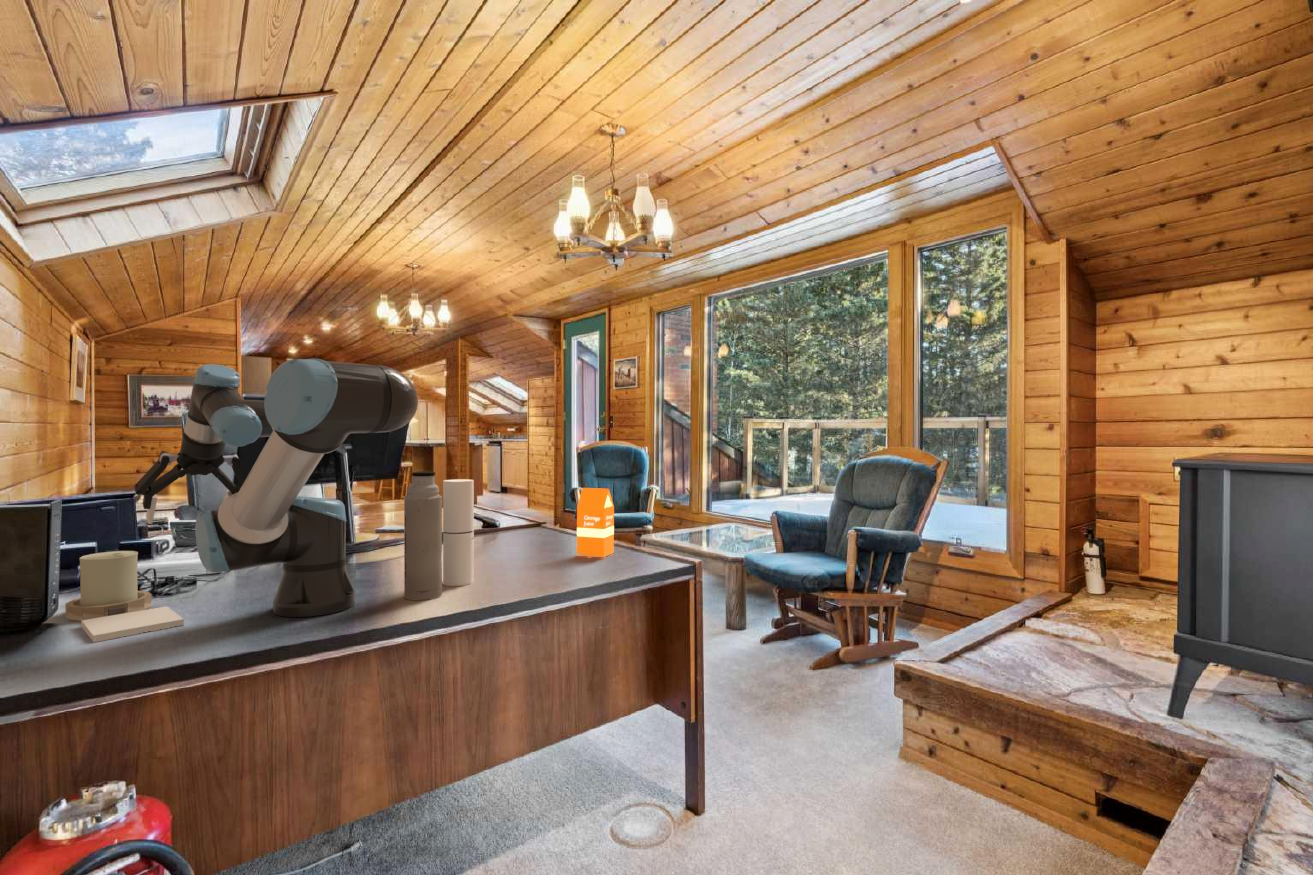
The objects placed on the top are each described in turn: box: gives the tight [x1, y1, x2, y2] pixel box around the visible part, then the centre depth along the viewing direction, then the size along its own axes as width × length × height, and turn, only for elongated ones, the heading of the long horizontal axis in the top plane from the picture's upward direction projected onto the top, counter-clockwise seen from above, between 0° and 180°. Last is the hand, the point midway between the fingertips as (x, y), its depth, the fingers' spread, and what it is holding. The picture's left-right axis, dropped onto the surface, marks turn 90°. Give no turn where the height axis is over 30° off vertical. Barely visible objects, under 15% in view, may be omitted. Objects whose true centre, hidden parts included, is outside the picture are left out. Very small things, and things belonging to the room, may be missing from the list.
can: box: [79, 550, 139, 607], centre depth 131 cm, size 9×9×12 cm
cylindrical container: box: [442, 478, 475, 587], centre depth 156 cm, size 7×7×25 cm
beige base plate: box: [80, 606, 185, 643], centre depth 121 cm, size 13×13×1 cm
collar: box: [64, 590, 152, 622], centre depth 131 cm, size 16×13×2 cm
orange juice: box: [576, 487, 615, 557], centre depth 191 cm, size 8×9×20 cm
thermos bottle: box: [403, 470, 443, 601], centre depth 144 cm, size 8×8×28 cm
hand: (188, 518), depth 141 cm, fingers open, 13 cm apart
